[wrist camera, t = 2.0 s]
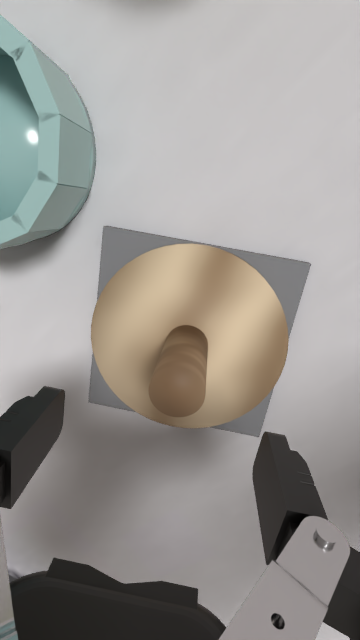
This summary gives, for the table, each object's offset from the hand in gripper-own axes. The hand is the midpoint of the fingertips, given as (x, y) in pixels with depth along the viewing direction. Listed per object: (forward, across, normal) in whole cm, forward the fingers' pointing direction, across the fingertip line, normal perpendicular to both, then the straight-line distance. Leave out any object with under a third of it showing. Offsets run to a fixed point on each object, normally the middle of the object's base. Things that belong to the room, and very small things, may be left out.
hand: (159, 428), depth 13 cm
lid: (+10, 0, 0) cm, 10 cm away
